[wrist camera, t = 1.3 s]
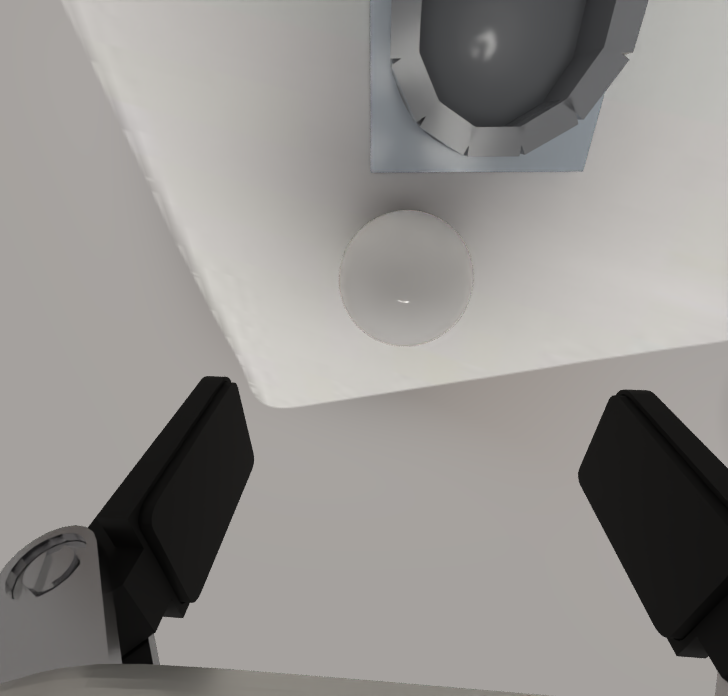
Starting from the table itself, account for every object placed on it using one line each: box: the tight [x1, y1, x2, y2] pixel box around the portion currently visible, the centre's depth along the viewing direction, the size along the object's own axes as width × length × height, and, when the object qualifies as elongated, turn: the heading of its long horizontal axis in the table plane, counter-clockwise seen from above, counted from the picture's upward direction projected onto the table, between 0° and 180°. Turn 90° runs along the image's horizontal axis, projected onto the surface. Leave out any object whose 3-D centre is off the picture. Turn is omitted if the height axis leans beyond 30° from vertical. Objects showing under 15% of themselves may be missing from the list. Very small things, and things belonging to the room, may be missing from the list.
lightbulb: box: [339, 210, 474, 346], centre depth 20 cm, size 6×6×11 cm
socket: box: [370, 0, 648, 173], centre depth 17 cm, size 12×12×5 cm
